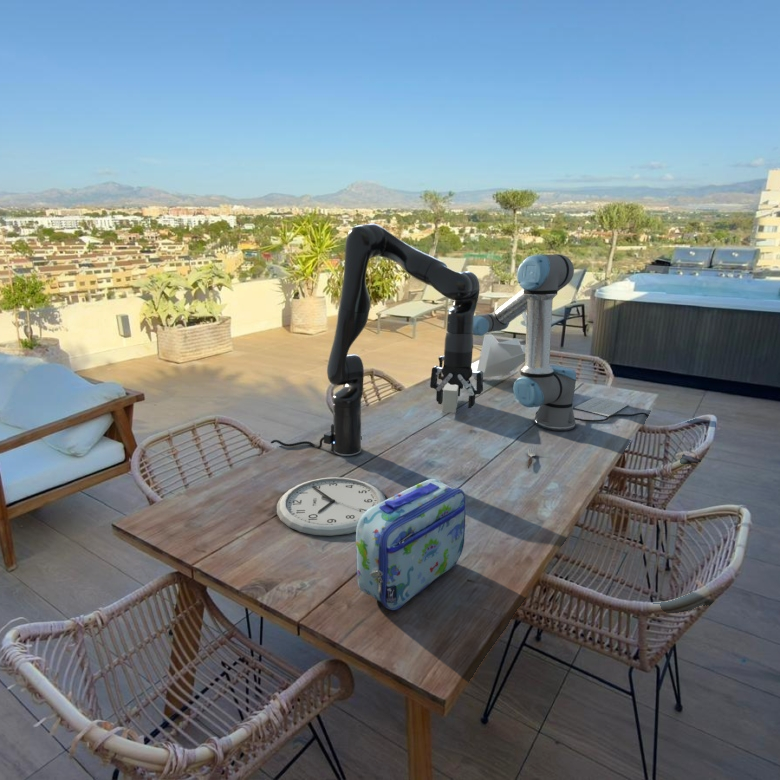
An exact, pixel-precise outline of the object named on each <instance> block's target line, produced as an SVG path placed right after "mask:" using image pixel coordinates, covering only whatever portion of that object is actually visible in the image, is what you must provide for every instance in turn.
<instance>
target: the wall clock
mask: <svg viewBox="0 0 780 780" xmlns="http://www.w3.org/2000/svg"><path fill="white" fill-rule="evenodd" d="M385 500H387V498H386V496H385V494H384V493H383V492H382V491H381V490H380V489H379V488H377V487H376V486H374V485H372V484H371V483H369V482H365V481H362V480H359V479H355V478H349V477H338V476H337V477H335V476H333V477H332V476H331V477H322V478H317V479H312V480H307V481H305V482H302V483H299V484H297V485H295V486H293V487H292V488H290V489H288V490H287V491H286V492H285V493H284V494H283V495H281V496H280V498H279V499H278V502H277V503H276V515H277V517H278V518H279V520H280V521H281V522H282V523H283V524H285V525H286V526H287V527H288V528H290V529H293V530H295V531H297V532H299V533H303V534H308V535H312V536H327V537H328V536H329V537H331V536H332V537H333V536H342V535H350V534H352V533H356V529H357V525H358V522H359V520H360V518H361V516H362V515H363V513H364V512H365V511H366V510H368V509H369V508H371V507H373V506H375V505H377V504H379V503H381V502H383V501H385Z"/></svg>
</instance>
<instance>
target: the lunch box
mask: <svg viewBox="0 0 780 780" xmlns="http://www.w3.org/2000/svg"><path fill="white" fill-rule="evenodd" d="M465 532H466V495H465V492H464V491H463V490H462V489H461V488H453V487H451V486H449V485H447V484H445V483H443V482H442V481H440V480H437V479H435V478H430V479H426V480H424V481H422V482H420V483H417V484H415V485H413V486H411V487H409V488H407V489H405V490H403V491H401V492H399V493H397V494H395V495H393V496H391V497H389V498H386V500H385V501H383V502H381V503H379V504H377V505H375V506H373V507H371V508H369V509H368V510H366V511H365V512H364V513H363V515H362V516H361V518H360V520H359V522H358V525H357V529H356V532H355V551H356V579H357V580H356V581H357V585H358V588H359V590H360V591H361V592H363V593H365V594H366V595H369V596H371V597H372V598H374V599H375V600H376V601H378V602H380V603H381V604H382V606H383V607H384V608H386V609H388V610H391V611H397V610H399V609H401V608H402V607H403V606H405V604H406V603H407V602H409V601H410V600H412V598H414V597H415V596H417V594H419V593H421V592H422V591H423V590H425V588H426V587H428V586H430V585H431V584H432V583H433V582H434V581H435V580H436V579H438V578H439V577H440V576H442V575H444V574H446V572H448V571H450V570H451V569H452V568H453V567H454V566H455V565H456V564H457V563H458V561H459V559H460V558H461V555H462V552H463V549H464V546H465V545H464V544H465V536H466V535H465V534H466V533H465Z"/></svg>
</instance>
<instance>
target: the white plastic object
mask: <svg viewBox="0 0 780 780" xmlns="http://www.w3.org/2000/svg"><path fill="white" fill-rule="evenodd" d="M521 315H522V319H523V321H524V324H525V325H524V326H525V327H526V326H527V312H526V311H525V312H523V313H522V314H521ZM525 352H526V343H525V344H522V343H521V342H520V341H519V338H518V337H517V338H512V339H508V340H503V341H499V340H498V339H497V338H496V337H495V336H494V335H493V334H484V335H483V340H482V345H481V350H480V355H479V359H478V360H475V361H474V362H472V366H471V368H472V371H474V372H479V371H482V372H483V379H485V378H492V377H501V378H503V377H506V376H509V375H511V372H512V371H514V370H515V369H517V368H518V367H519V366H521V365H523V364H525ZM549 365H551V363H549ZM472 377H473V378H474V376H472Z"/></svg>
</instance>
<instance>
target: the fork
mask: <svg viewBox="0 0 780 780" xmlns="http://www.w3.org/2000/svg"><path fill="white" fill-rule="evenodd" d="M533 448H535V449H533ZM533 448H531V447H529V448H528V451H527V456H529V459H528V460H527V469H530V467H531V465H532V463H533V460H532V459H533V457H535V456H537V445H536V447H535V445H534V446H533Z"/></svg>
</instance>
